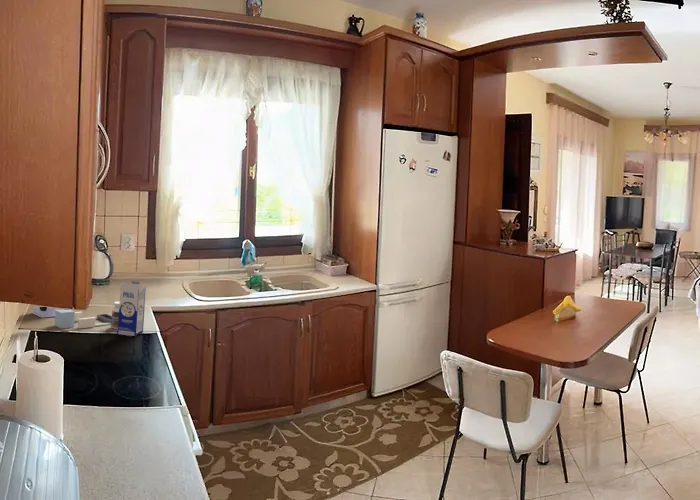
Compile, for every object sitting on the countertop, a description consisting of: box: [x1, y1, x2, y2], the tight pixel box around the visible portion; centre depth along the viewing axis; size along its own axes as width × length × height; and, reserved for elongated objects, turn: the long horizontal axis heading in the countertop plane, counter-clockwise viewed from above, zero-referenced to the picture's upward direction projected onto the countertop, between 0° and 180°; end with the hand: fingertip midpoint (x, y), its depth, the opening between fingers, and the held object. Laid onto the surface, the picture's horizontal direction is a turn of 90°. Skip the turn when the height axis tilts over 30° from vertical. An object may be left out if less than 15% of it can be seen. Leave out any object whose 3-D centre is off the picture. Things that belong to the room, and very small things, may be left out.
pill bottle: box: [110, 300, 120, 330], centre depth 225 cm, size 6×6×10 cm
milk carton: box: [117, 280, 147, 337], centre depth 217 cm, size 7×7×20 cm
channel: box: [74, 311, 111, 329], centre depth 227 cm, size 11×12×4 cm
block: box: [54, 308, 76, 329], centre depth 220 cm, size 5×5×6 cm
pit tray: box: [96, 313, 112, 323], centre depth 233 cm, size 11×4×2 cm, turn 51°
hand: (43, 310), depth 213 cm, fingers closed
